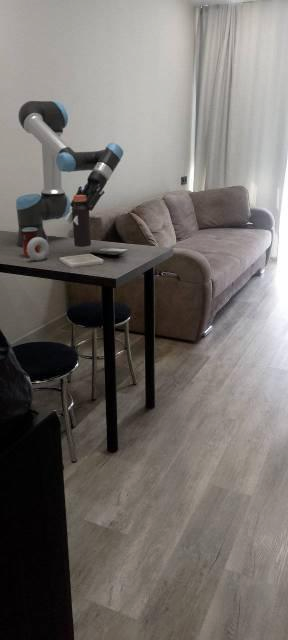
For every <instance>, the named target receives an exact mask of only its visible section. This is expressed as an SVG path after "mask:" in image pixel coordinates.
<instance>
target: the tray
mask: <svg viewBox="0 0 288 640" xmlns="http://www.w3.org/2000/svg"><path fill="white" fill-rule="evenodd" d="M59 262H61V263H63V264H64V265H66V266H67V267H69V268H71V269H75V268H81V267H88V266H94V265H103V264H104V259H102V258H100V257H98V256H95V255H94V254H91V253H85V254H76V255H70V256H69V255H68V256H64V257H63V256H62V257H59Z"/></svg>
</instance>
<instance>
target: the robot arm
mask: <svg viewBox="0 0 288 640" xmlns="http://www.w3.org/2000/svg"><path fill="white" fill-rule="evenodd" d="M68 116H69V115H68V113H67V109H66V108H65V106H64V104H62V103H61V102H58V101H52V100H51V101H50V100H49V101H47V100H45V101H44V100H29V101H26V102H25V103H24V104H22V105H21V107H20V108H19V111H18V115H17V117H18V122H19V124H20V126H21V128H22V129H23V130H24V131H25V132H26V133H27V134H31V135H33V137H34V138H35V139H36V140H37V141H38V142H39V143H40V144H41V153H42V157H41V158H42V173H43V175H42V176H43V179H42V180H43V188H42V189H41V191H40V194H39V193H31V194H24V195H21V196H19V197H17V198H16V200H15V201H16V203H15V204H16V205H15V206H16V207H15V208H16V214H17V216H16V217H17V223H18V230H17V236H16V240H15V241H16V246H17V247H23V241H22V230H23V229H24V228H27V227H34V228H36V229H38V236H39V237H41V238H44V239H45V240H46V241H47V243H48V244H49V238H48V236H47V234H46V230H45V229H44V224H43V221H48V220H49V221H51V220H60V219H63V218H65V221H66V222H67V223H68V224H69V225H71V224H73V221H74V222H75V223H76V224H77V225H78V216H76V217H75V218H74V220H73V217H72V208H73V207H74V205H75V203H74V198H72V200H70V198H69V196H68V194H66V191H65V190H64V189H63V188H62V187H63V186H62V172H63V173H66V172H67V173H71V172H80V171H81V172H83V171H90V173H89V175H88V176H87V183H85V185H84V186H81V185H80V186H79V187H78V189H77V192H76V194H75V195H86V202H85V206H83V207H87V209H88V211H89V212H92V211H93V210H94V208H95V207H96V206H97V204H98V202H99V200H100V198H101V197H102V196H103V195H104V194H105V190H104V188H105V186H106V185H107V182H108V181H109V180H110V178H111V177H112V175H113V173H114V171H115V169H116V168H117V167H118V165H119V163H120V161H121V159H122V157H123V156H124V150H123V149H122V148H123V147H121V146H120V145H119V144H118V143H115V142H109V143H108V144H107V145H106V146H105V149H102V150H95V151H77V152H76V151H74V150H73V149H72V148H71V147H70V146H69V145H68V144H67V143H66V142H65V141H64V140H63V139H62V138H61V137H62V136H61V135H63V134H64V129H65V128H67V125H68V121H69V117H68ZM39 247H41V246H40V245H39Z"/></svg>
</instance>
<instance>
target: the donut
mask: <svg viewBox="0 0 288 640" xmlns="http://www.w3.org/2000/svg"><path fill="white" fill-rule="evenodd" d="M37 245H40V246H39V247H40V252H39V253H37V252H36V251H35V247H36V246H37ZM27 253H28V255H29V257H28V258H30V259H31V260H34V261H43V260H44V259H46V258H47V256H48V255H49V253H50V245H49V242H48V243H47V241H46V240H45V239H44V238H41V237H35V238H33V239H31V240H30V242H29V243H28V245H27Z"/></svg>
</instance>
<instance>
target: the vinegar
mask: <svg viewBox="0 0 288 640" xmlns="http://www.w3.org/2000/svg"><path fill="white" fill-rule="evenodd" d="M73 198H74V203H75V205H74V207H73V208H72V207H71V209H72V217H73V220H74V218H75V217H76V216H78V225H77V224H76V223H75V222H74V221H72V228H73V229H72V230H73V243H74V246H75V247H76V248H78V247H79V248H84V247H86V248H87V247H90V246H91V245H92V237H91V236H92V234H91V222H90V221H91V220H90V219H91V218H90V210H89V211H88V209H87V207H83V206H85V202H86V195H76V194H75V195H73ZM73 198H72V199H73Z"/></svg>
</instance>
